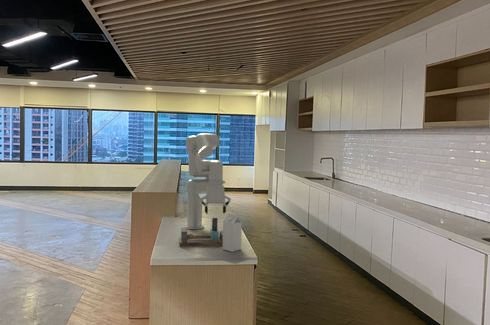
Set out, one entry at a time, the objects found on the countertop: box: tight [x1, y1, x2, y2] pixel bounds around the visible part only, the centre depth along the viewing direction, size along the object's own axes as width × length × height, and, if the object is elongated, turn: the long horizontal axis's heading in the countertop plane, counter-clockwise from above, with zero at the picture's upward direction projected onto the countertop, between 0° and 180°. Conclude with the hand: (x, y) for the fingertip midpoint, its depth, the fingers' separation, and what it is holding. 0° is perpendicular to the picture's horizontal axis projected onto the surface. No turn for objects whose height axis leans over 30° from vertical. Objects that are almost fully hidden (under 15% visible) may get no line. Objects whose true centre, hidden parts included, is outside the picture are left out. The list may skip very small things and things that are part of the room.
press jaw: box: [209, 217, 220, 239], centre depth 249 cm, size 7×4×12 cm, turn 9°
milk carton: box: [222, 213, 243, 253], centre depth 236 cm, size 7×7×19 cm
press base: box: [178, 227, 223, 247], centre depth 248 cm, size 12×25×8 cm, turn 99°
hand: (215, 213), depth 248 cm, fingers open, 9 cm apart
